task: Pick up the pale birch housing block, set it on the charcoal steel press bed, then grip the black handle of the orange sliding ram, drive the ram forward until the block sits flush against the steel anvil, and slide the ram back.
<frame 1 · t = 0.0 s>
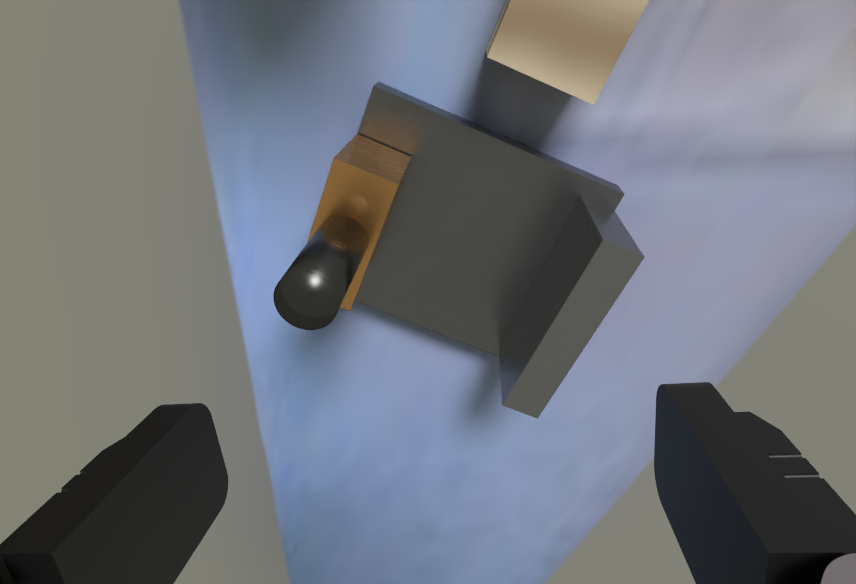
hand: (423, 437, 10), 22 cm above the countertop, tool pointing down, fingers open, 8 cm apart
press ram: (340, 244, 25), point 7 cm above the countertop, slide at 0.0 cm
housing block: (554, 18, 26), on the countertop
press bed: (456, 231, 32), on the countertop
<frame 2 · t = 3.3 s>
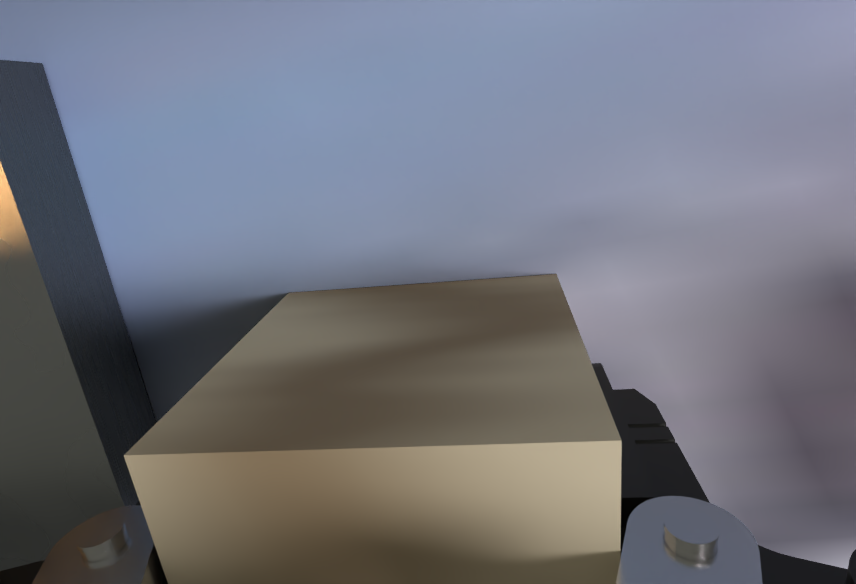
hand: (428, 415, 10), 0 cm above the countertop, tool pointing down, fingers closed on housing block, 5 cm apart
housing block: (432, 402, 11), on the countertop, touching gripper
when the fingers open (3 cm above the countertop, at t = 8.7 s): housing block drops 1 cm, resting on press bed.
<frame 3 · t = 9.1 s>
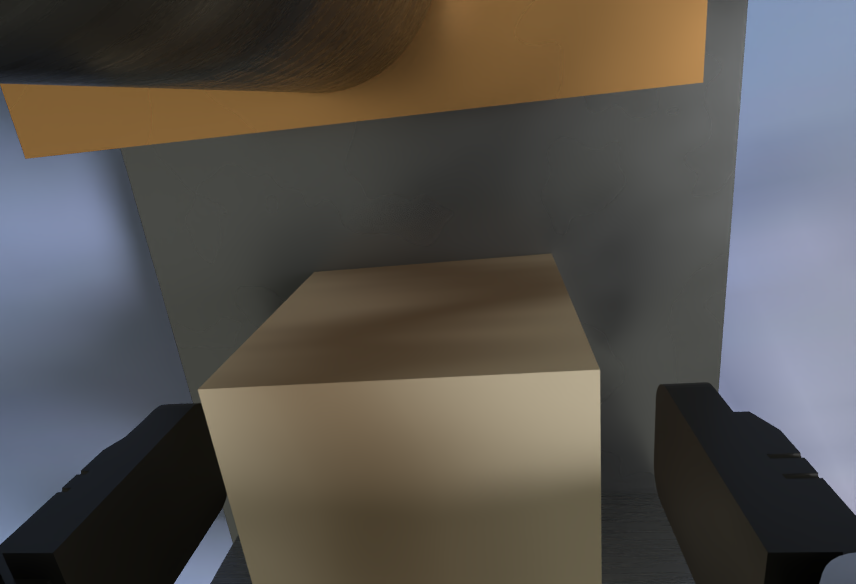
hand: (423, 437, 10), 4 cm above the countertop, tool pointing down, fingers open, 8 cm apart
housing block: (441, 370, 12), point 1 cm above the countertop, touching press bed
press bed: (435, 284, 13), on the countertop
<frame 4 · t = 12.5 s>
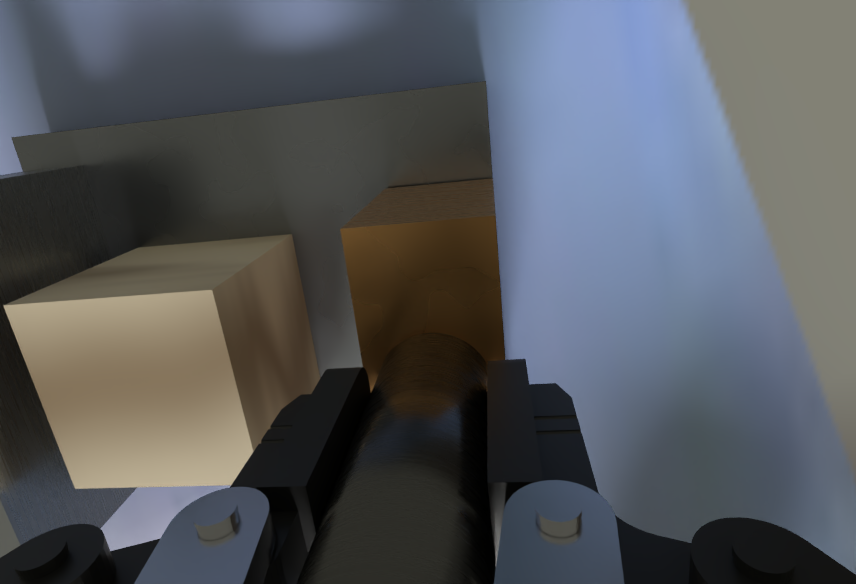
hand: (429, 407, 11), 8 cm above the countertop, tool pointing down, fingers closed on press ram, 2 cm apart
press ram: (433, 397, 11), point 7 cm above the countertop, slide at 0.0 cm, touching gripper
housing block: (232, 316, 17), point 1 cm above the countertop, touching press bed
press bed: (292, 294, 18), on the countertop
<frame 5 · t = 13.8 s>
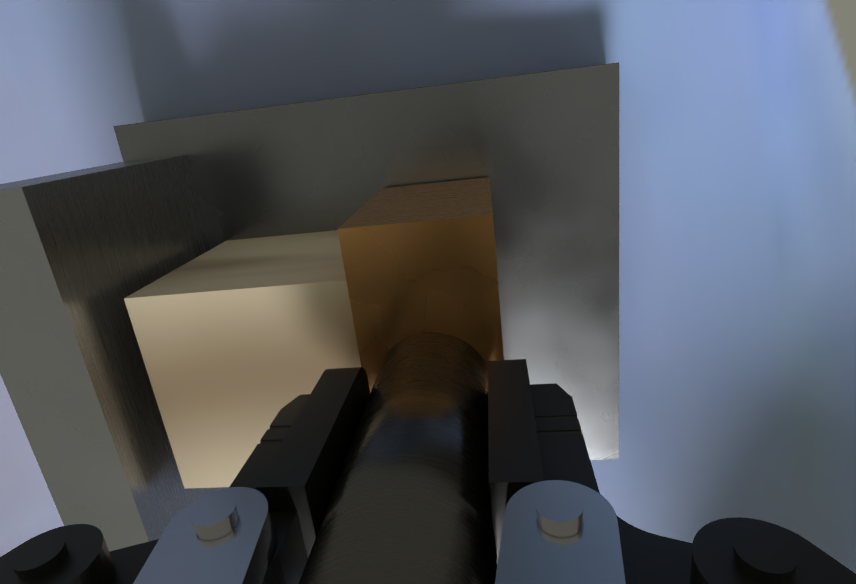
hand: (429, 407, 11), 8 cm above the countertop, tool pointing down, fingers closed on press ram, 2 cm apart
press ram: (432, 396, 11), point 7 cm above the countertop, slide at 3.5 cm, touching gripper
housing block: (320, 311, 17), point 2 cm above the countertop
press bed: (390, 287, 18), on the countertop
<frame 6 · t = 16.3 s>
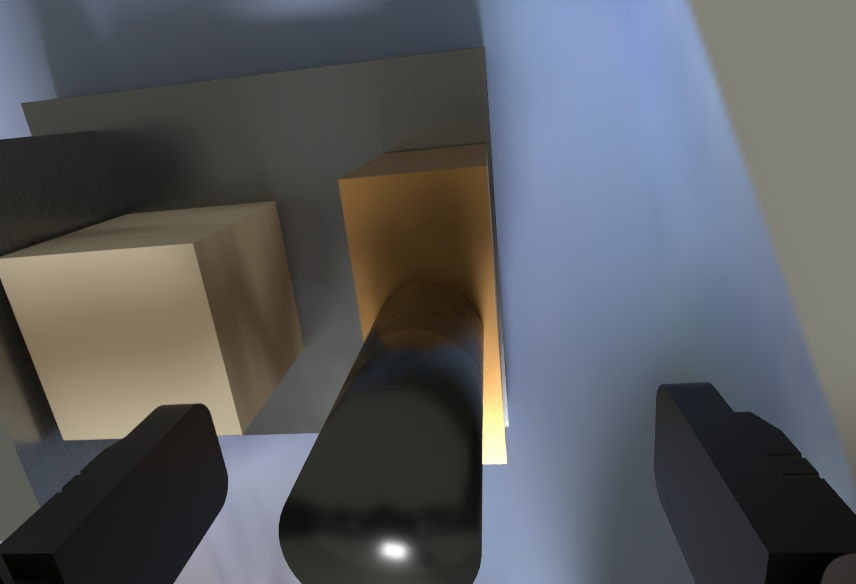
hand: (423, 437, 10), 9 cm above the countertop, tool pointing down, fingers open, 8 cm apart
press ram: (426, 343, 11), point 7 cm above the countertop, slide at 0.1 cm
housing block: (217, 282, 18), point 1 cm above the countertop, touching press bed
press bed: (295, 261, 19), on the countertop
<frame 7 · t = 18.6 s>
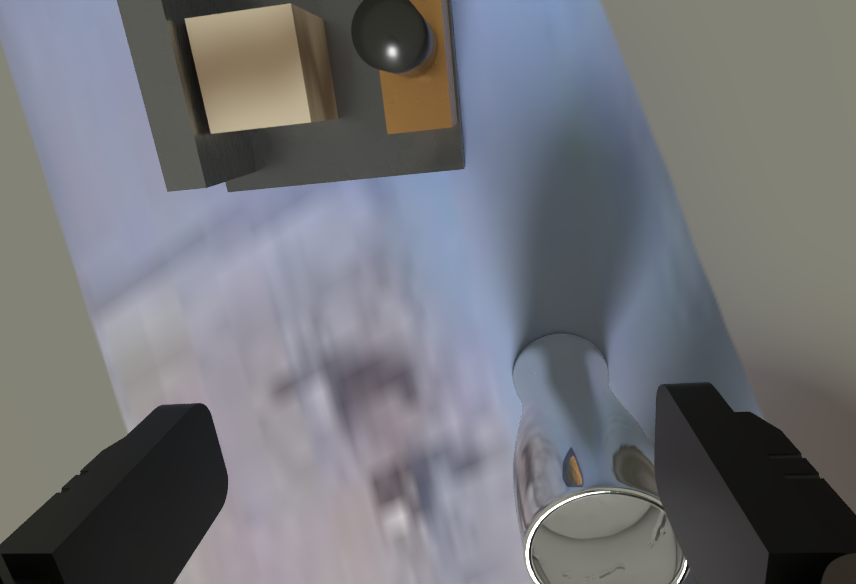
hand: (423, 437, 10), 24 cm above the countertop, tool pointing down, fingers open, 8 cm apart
press ram: (408, 46, 23), point 7 cm above the countertop, slide at 0.1 cm
beer glass: (559, 373, 36), on the countertop
housing block: (286, 75, 29), point 1 cm above the countertop, touching press bed
press bed: (332, 70, 31), on the countertop
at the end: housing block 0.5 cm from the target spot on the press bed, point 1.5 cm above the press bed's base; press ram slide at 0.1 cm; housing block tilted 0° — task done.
